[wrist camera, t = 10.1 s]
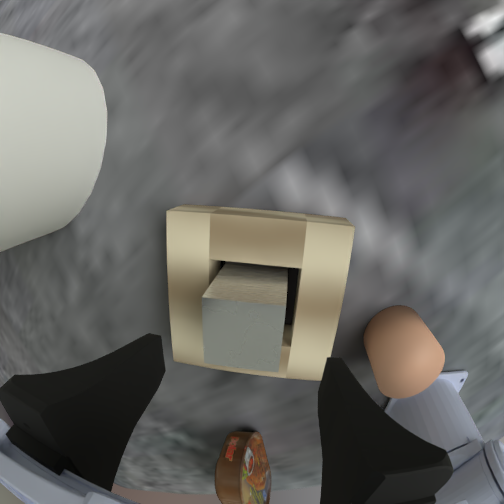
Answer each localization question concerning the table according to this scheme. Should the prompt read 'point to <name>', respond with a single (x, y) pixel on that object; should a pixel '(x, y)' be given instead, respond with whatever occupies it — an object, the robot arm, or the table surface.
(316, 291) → the bore block
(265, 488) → the tin
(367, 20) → the table surface
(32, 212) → the cylinder
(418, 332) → the round peg
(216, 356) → the square peg
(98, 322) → the table surface
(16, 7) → the table surface
